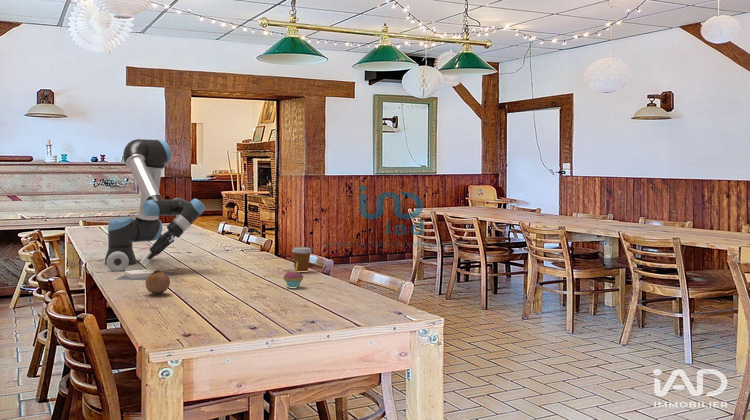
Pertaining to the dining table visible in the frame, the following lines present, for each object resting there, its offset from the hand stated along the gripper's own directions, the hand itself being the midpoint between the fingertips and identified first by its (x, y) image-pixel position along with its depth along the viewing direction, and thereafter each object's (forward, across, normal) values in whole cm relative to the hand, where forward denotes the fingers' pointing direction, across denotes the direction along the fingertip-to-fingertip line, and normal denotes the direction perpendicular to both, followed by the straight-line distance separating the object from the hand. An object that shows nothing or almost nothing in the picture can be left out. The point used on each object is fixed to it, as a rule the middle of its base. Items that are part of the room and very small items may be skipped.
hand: (142, 264), depth 315 cm
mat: (+3, +1, +5) cm, 6 cm away
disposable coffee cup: (-46, +22, +55) cm, 75 cm away
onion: (+10, +43, -1) cm, 44 cm away
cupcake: (-29, +56, +37) cm, 73 cm away
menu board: (0, 0, +6) cm, 6 cm away
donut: (+8, -19, 0) cm, 21 cm away
